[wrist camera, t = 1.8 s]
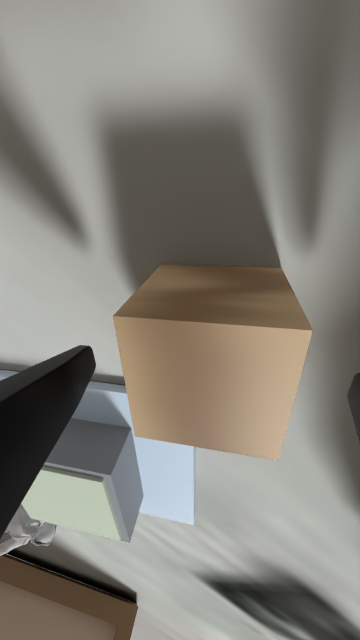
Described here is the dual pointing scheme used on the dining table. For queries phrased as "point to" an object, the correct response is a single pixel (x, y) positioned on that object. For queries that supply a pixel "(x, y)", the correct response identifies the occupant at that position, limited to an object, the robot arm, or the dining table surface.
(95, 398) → the board
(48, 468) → the base block
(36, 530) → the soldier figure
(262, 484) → the dining table surface
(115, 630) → the photo frame
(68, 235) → the dining table surface
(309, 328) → the oak cube
